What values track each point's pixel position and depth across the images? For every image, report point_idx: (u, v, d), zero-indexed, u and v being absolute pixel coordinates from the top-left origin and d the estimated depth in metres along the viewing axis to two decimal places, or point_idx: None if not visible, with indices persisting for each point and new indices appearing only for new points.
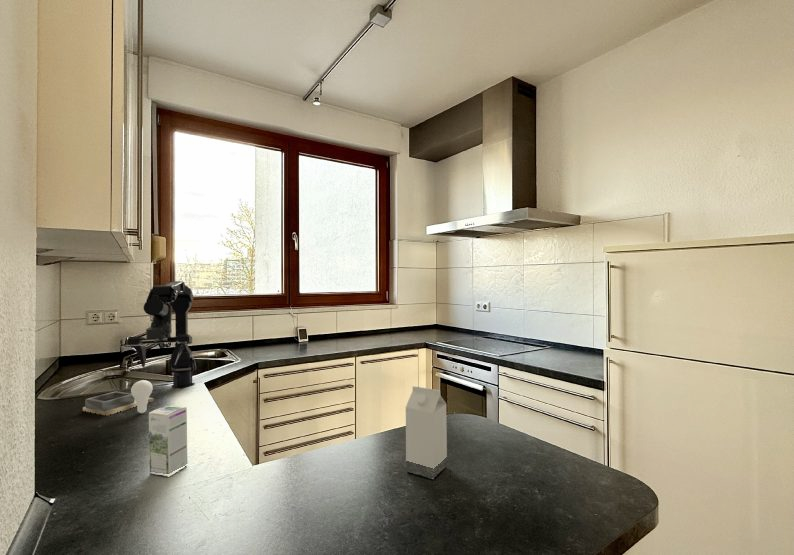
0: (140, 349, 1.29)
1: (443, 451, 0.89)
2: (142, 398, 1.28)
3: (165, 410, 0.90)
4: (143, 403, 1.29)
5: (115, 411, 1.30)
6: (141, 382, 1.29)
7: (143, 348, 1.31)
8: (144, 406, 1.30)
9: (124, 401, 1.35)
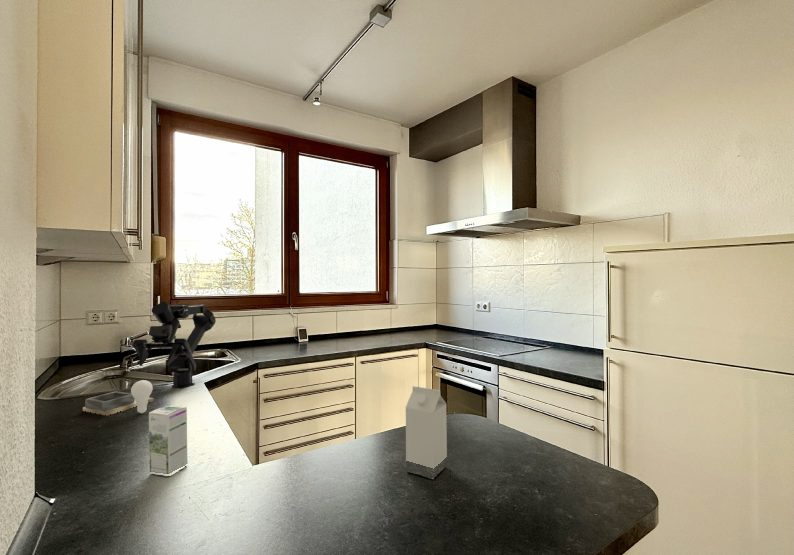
0: (142, 349, 1.43)
1: (443, 451, 0.89)
2: (142, 398, 1.28)
3: (165, 410, 0.90)
4: (143, 403, 1.29)
5: (115, 411, 1.30)
6: (141, 382, 1.29)
7: (145, 351, 1.45)
8: (144, 406, 1.30)
9: (124, 401, 1.35)
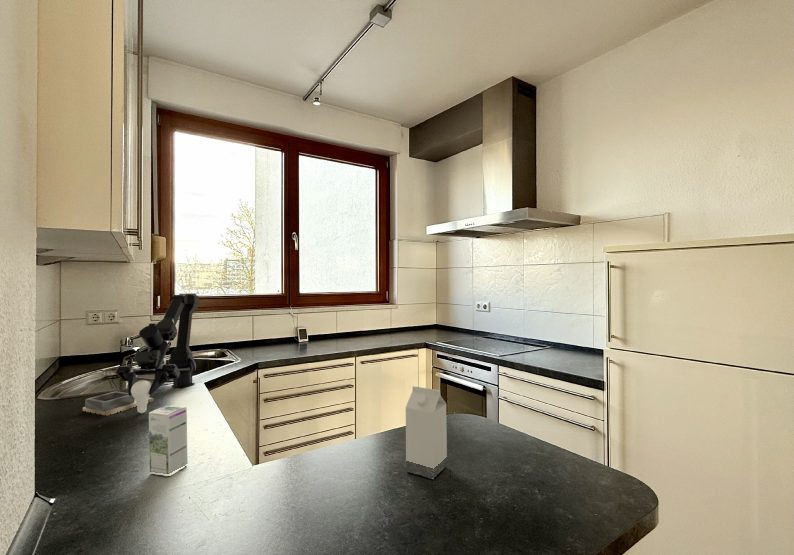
0: (131, 377, 1.31)
1: (443, 451, 0.89)
2: (142, 398, 1.28)
3: (165, 410, 0.90)
4: (143, 403, 1.29)
5: (115, 411, 1.30)
6: (141, 382, 1.29)
7: (135, 378, 1.33)
8: (144, 406, 1.30)
9: (124, 401, 1.35)
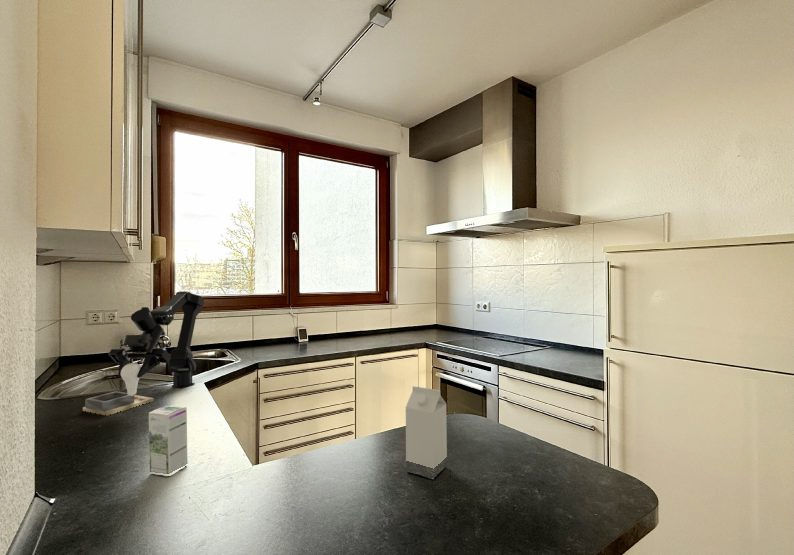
0: (122, 359, 1.32)
1: (443, 451, 0.89)
2: (131, 381, 1.29)
3: (165, 410, 0.90)
4: (132, 386, 1.30)
5: (115, 411, 1.30)
6: (130, 365, 1.30)
7: (127, 361, 1.34)
8: (133, 389, 1.30)
9: (124, 401, 1.35)
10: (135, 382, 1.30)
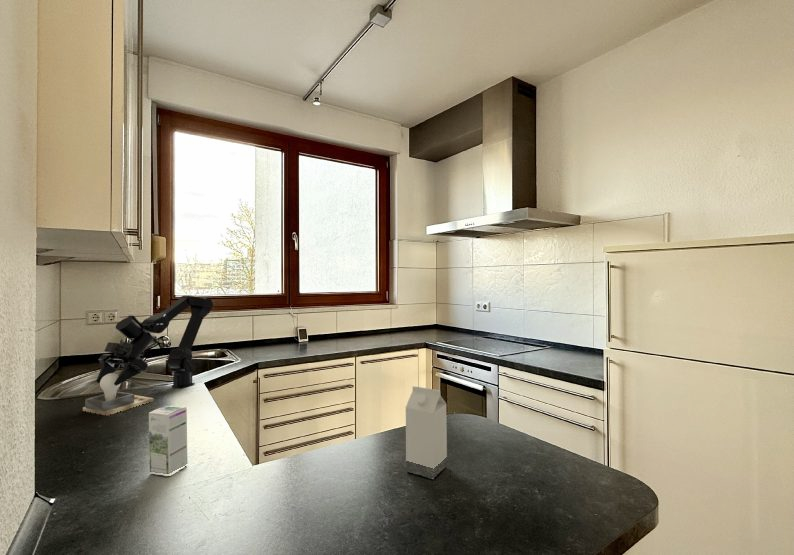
0: (104, 365, 1.38)
1: (443, 451, 0.89)
2: (107, 391, 1.33)
3: (165, 410, 0.90)
4: (108, 395, 1.34)
5: (115, 411, 1.30)
6: (108, 375, 1.34)
7: (109, 367, 1.40)
8: (110, 399, 1.34)
9: (124, 401, 1.35)
10: (111, 392, 1.34)
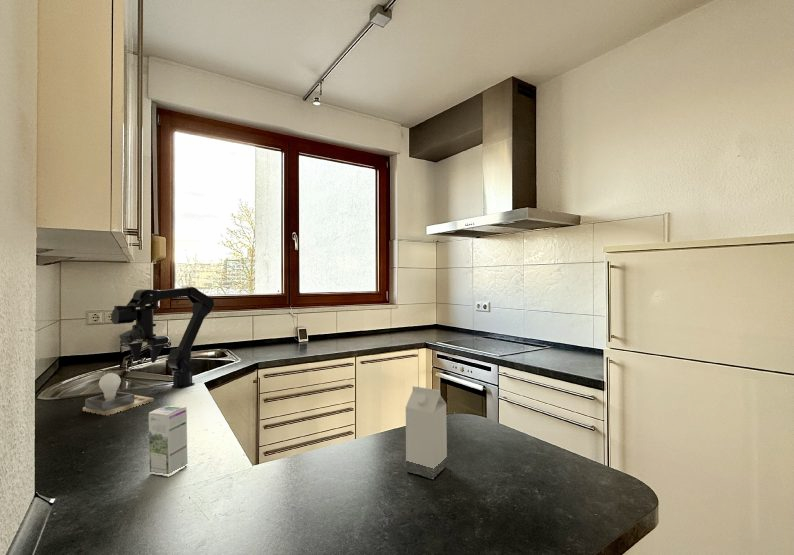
0: (130, 347, 1.50)
1: (443, 451, 0.89)
2: (106, 391, 1.33)
3: (165, 410, 0.90)
4: (108, 395, 1.34)
5: (115, 411, 1.30)
6: (107, 375, 1.34)
7: (136, 344, 1.52)
8: (109, 398, 1.34)
9: (124, 401, 1.35)
10: (111, 392, 1.34)
